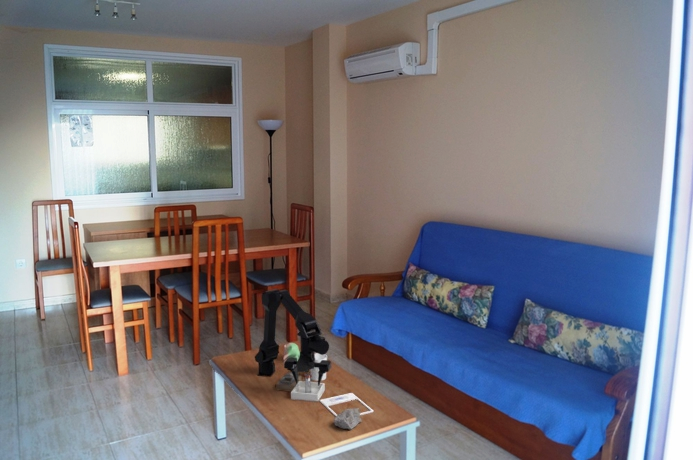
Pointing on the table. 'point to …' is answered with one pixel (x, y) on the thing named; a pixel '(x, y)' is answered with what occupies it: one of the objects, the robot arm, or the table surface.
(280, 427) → the table surface
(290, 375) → the block
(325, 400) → the photo frame
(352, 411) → the stone
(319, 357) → the white cup
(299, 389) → the tray
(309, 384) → the pin
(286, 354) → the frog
